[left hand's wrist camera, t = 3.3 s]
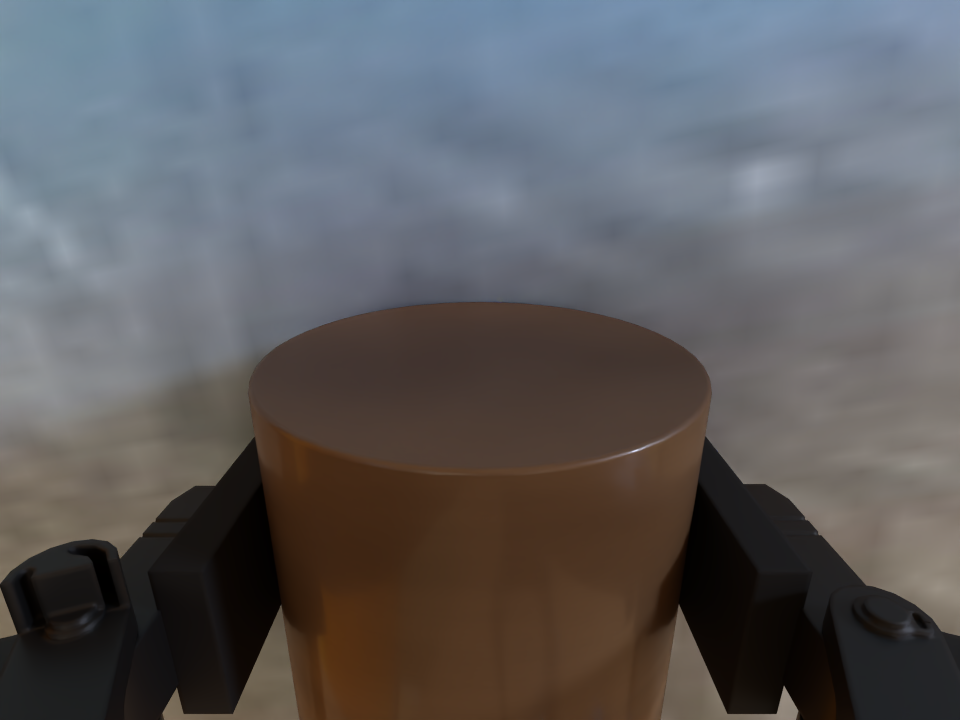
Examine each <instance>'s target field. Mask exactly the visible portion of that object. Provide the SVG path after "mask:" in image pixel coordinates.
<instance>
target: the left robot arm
mask: <svg viewBox="0 0 960 720" xmlns="http://www.w3.org/2000/svg"><path fill="white" fill-rule="evenodd" d="M0 588H1V591H2V593H3V596H4V599H5V601H6V604H7V607H8V609H9V612H10V615H11V617H12V620H13V623H14V625H15V628H16V631H17V633H18V634H17V635H14V636H10V637H6V638H1V639H0V720H164V718H163V715H162V712H163V711H164V709H165V707H166V705H167V704H168V702H169V700H170V698H171V697H172V695H173V693H174V691H175V690H176V688H177V689H178V693H179V697H180V701H181V705H182V709H183V713H184V714H233V712H234V710H235V708H236V705H237V703H238V701H239V699H240V696H241V694H242V692H243V689H244V687H245V685H246V683H247V680H248V678H249V676H250V674H251V671H252V669H253V667H254V665H255V662H256V660H257V658H258V655H259V653H260V651H261V649H262V646H263V644H264V642H265V640H266V637H267V635H268V633H269V630H270V628H271V626H272V624H273V621H274V619H275V617H276V615H277V612H278V610H279V608H280V606H281V599H280V593H279V586H278V580H277V574H276V567H275V561H274V555H273V548H272V542H271V535H270V529H269V523H268V516H267V510H266V504H265V497H264V491H263V485H262V478H261V472H260V465H259V459H258V453H257V446H256V440H255V437H254V438H253V439H252V441H251V442H250V443H249V444H248V446H247V447H246V448H245V450H244V451H243V452H242V453H241V455H240V456H239V457H238V458H237V460H236V461H235V462H234V463H233V465H232V466H231V467H230V468H229V470H228V471H227V472H226V473H225V475H224V476H223V477H222V478H221V480H220V481H219V482H218V483H217V485H216V486H195V487H193V488H191V489H190V490H188V491H187V492H185V493H184V494H182V495H180V496H179V497H177V498H176V499H174V500H173V501H171V502H170V503H169V505H168V506H167V507H166V508H165V509H164V510H163V511H162V513H161V514H160V515H159V516H158V517H157V518H156V522H153V523H152V524H151V525H150V526H149V527H148V528H147V529H146V531H145V532H144V533H143V537H139V538H138V540H137V541H136V542H135V543H134V544H133V545H132V546H131V547H130V549H129V550H128V551H127V552H126V553H125V554H124V555H123V556H122V558H121V559H120V558H119V555H118V551H117V548H116V547H114V546H113V545H112V544H110V543H109V542H108V541H101V540H94V539H90V540H82V541H73V542H69V543H66V544H63V545H59V546H56V547H53V548H50V549H48V550H46V551H43V552H41V553H39V554H37V555H35V556H33V557H31V558H29V559H27V560H26V561H25V562H23V563H22V564H20V565H19V566H18V567H16V568H15V569H13V570H12V571H11V572H10V573H9V574H8V575H7V577H6V578H5V579H4V580H3V581H2V582H1V584H0ZM679 605H680V607H681V609H682V612H683V614H684V616H685V619H686V621H687V623H688V625H689V628H690V630H691V632H692V634H693V637H694V639H695V641H696V643H697V646H698V648H699V650H700V653H701V655H702V657H703V659H704V662H705V664H706V666H707V668H708V671H709V673H710V675H711V677H712V680H713V682H714V684H715V687H716V689H717V691H718V693H719V696H720V698H721V700H722V702H723V705H724V707H725V709H726V711H727V714H777V710H778V706H779V702H780V698H781V695H782V691H783V687H784V686H785V688H786V690H787V691H788V693H789V695H790V697H791V698H792V700H793V702H794V704H795V705H796V707H797V709H798V715H797V718H796V720H960V636H957V635H952V634H948V633H945V632H941V631H940V629H939V628H938V626H937V625H936V624H935V622H934V621H933V619H932V618H931V617H929V616H928V615H927V614H926V613H924V612H923V611H922V610H921V609H919V608H918V607H917V606H916V605H914V604H913V603H911V602H909V601H907V600H905V599H903V598H901V597H900V596H898V595H896V594H894V593H891V592H888V591H885V590H882V589H879V588H876V587H872V586H866V585H865V584H864V583H863V581H862V580H861V579H860V578H859V577H858V576H857V575H856V574H855V572H854V571H853V570H852V569H851V568H850V567H849V566H848V565H847V564H846V562H845V561H844V560H843V559H842V558H841V557H840V556H839V555H838V553H837V552H836V551H835V550H834V549H833V548H832V547H831V546H830V545H829V543H828V542H827V541H826V540H825V539H824V538H823V537H822V536H821V535H818V531H817V530H816V529H815V528H814V527H813V525H812V524H811V523H810V522H809V521H808V520H805V517H804V515H803V514H802V513H801V512H800V511H799V510H798V509H797V508H796V506H795V505H794V504H793V503H792V502H791V501H790V500H789V499H788V498H786V497H785V496H783V495H782V494H780V493H778V492H777V491H775V490H774V489H772V488H770V487H769V486H767V485H766V484H743V483H742V482H741V481H740V479H739V478H738V477H737V476H736V474H735V473H734V472H733V471H732V469H731V468H730V467H729V465H728V464H727V463H726V462H725V460H724V459H723V458H722V457H721V455H720V454H719V453H718V452H717V450H716V449H715V448H714V447H713V445H712V444H711V443H710V442H709V440H708V439H707V438H706V437H705V440H704V446H703V453H702V459H701V465H700V472H699V478H698V484H697V491H696V497H695V503H694V510H693V516H692V522H691V529H690V535H689V541H688V548H687V554H686V561H685V567H684V573H683V580H682V586H681V592H680V599H679Z"/></svg>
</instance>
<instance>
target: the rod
mask: <svg viewBox="0 0 960 720" xmlns="http://www.w3.org/2000/svg"><path fill="white" fill-rule="evenodd" d="M248 395H249V402H250V408H251V414H252V421H253V427H254V434H255V440H256V446H257V453H258V459H259V465H260V472H261V478H262V485H263V491H264V497H265V504H266V510H267V516H268V523H269V529H270V535H271V542H272V548H273V555H274V561H275V567H276V574H277V580H278V586H279V593H280V599H281V606H282V612H283V618H284V625H285V631H286V637H287V644H288V650H289V656H290V663H291V669H292V676H293V682H294V688H295V695H296V701H297V707H298V714H299V720H660V719H661V713H662V707H663V700H664V694H665V688H666V681H667V675H668V668H669V662H670V656H671V649H672V643H673V637H674V630H675V624H676V618H677V611H678V605H679V599H680V592H681V586H682V580H683V573H684V567H685V561H686V554H687V548H688V541H689V535H690V529H691V522H692V516H693V510H694V503H695V497H696V491H697V484H698V478H699V472H700V465H701V459H702V453H703V446H704V440H705V433H706V427H707V421H708V414H709V408H710V402H711V395H712V391H711V383H710V379H709V376H708V374H707V372H706V370H705V368H704V366H703V365H702V364H701V363H700V362H699V361H698V359H697V358H696V357H695V356H694V355H692V354H691V353H690V352H689V351H687V350H686V349H685V348H684V347H682V346H680V345H679V344H677V343H675V342H674V341H672V340H670V339H668V338H666V337H664V336H662V335H660V334H658V333H656V332H653V331H651V330H648V329H646V328H643V327H640V326H638V325H635V324H632V323H628V322H625V321H622V320H619V319H615V318H611V317H607V316H603V315H599V314H594V313H589V312H584V311H579V310H573V309H566V308H560V307H551V306H543V305H532V304H519V303H497V302H463V303H440V304H428V305H417V306H408V307H400V308H394V309H387V310H381V311H376V312H371V313H366V314H361V315H357V316H353V317H349V318H345V319H341V320H338V321H335V322H331V323H328V324H325V325H322V326H319V327H317V328H314V329H312V330H309V331H306V332H304V333H302V334H300V335H298V336H296V337H293V338H291V339H289V340H288V341H286V342H284V343H283V344H281V345H279V346H278V347H276V348H275V349H274V350H272V351H271V352H270V353H269V354H267V355H266V356H265V357H264V358H263V359H262V360H261V362H260V363H259V364H258V365H257V366H256V368H255V370H254V372H253V374H252V376H251V379H250V382H249V390H248Z"/></svg>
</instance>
